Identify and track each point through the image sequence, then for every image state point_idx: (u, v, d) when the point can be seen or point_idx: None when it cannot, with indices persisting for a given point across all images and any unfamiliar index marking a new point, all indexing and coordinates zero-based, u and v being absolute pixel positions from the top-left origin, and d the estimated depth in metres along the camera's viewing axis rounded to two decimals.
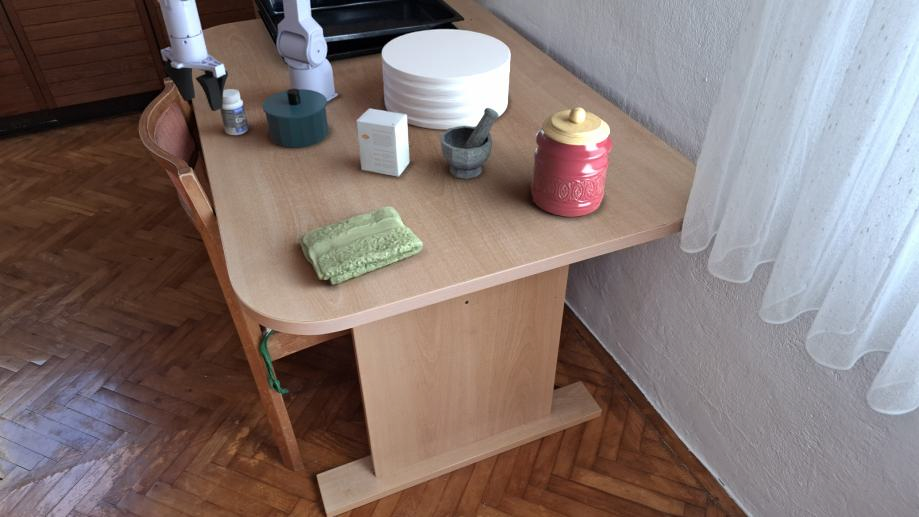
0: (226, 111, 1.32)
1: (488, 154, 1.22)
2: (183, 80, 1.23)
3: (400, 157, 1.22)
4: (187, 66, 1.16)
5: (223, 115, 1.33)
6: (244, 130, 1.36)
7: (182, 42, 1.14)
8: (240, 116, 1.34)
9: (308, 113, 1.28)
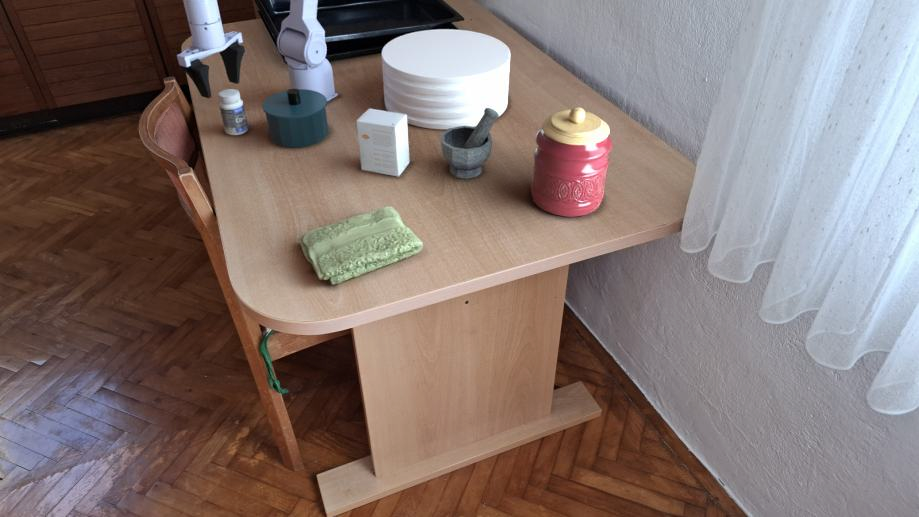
0: (226, 111, 1.32)
1: (488, 154, 1.22)
2: (228, 63, 1.29)
3: (400, 157, 1.22)
4: None
5: (223, 115, 1.33)
6: (244, 130, 1.36)
7: (189, 24, 1.21)
8: (240, 116, 1.34)
9: (308, 113, 1.28)
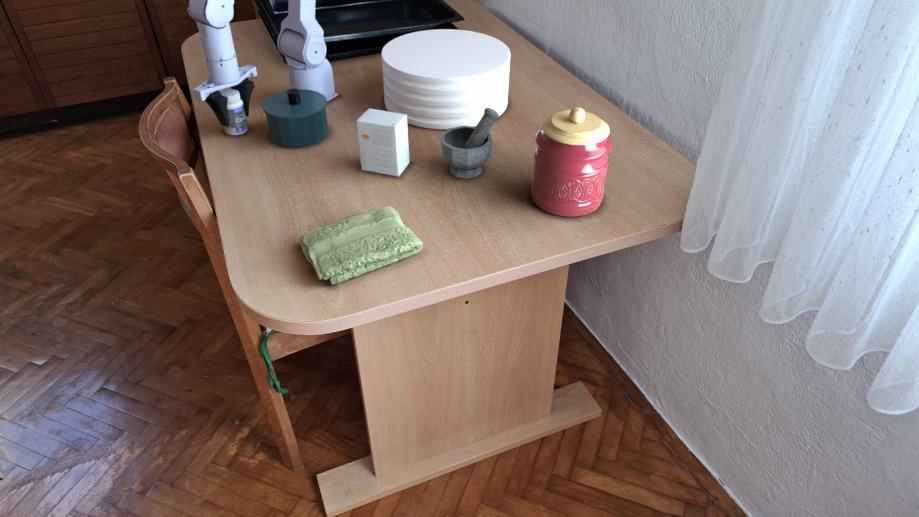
0: None
1: (488, 154, 1.22)
2: None
3: (400, 157, 1.22)
4: None
5: None
6: (244, 130, 1.36)
7: (206, 60, 1.28)
8: (240, 116, 1.34)
9: (308, 113, 1.28)
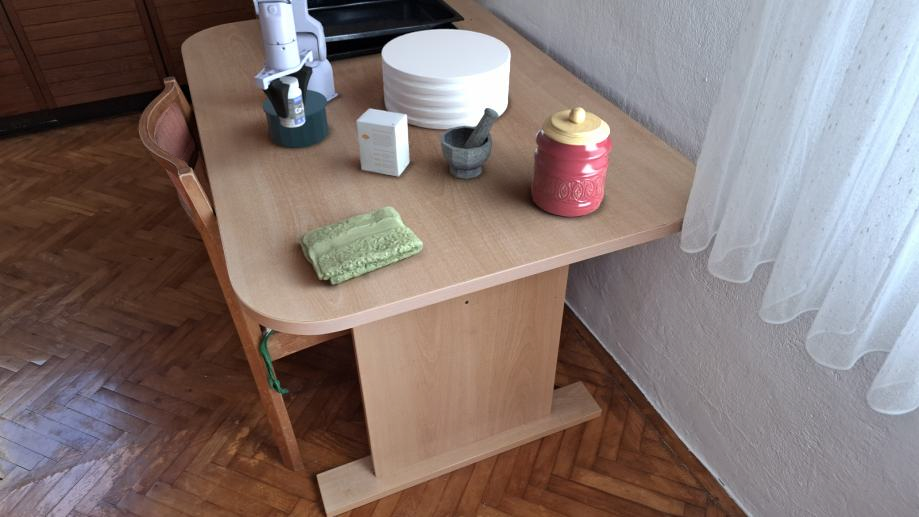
0: None
1: (488, 154, 1.22)
2: None
3: (400, 157, 1.22)
4: None
5: None
6: (303, 121, 1.23)
7: (264, 44, 1.15)
8: (300, 106, 1.21)
9: (308, 113, 1.28)
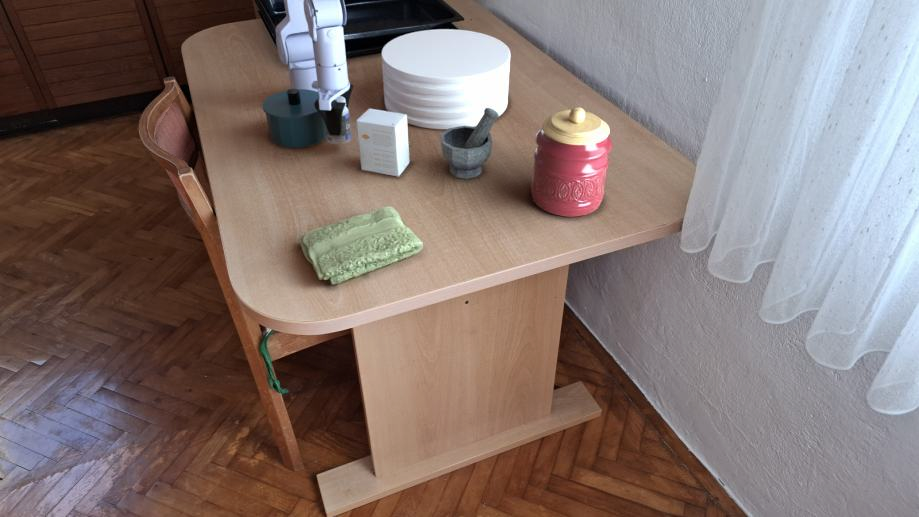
0: None
1: (488, 154, 1.22)
2: None
3: (400, 157, 1.22)
4: (317, 89, 1.23)
5: None
6: (350, 136, 1.30)
7: (316, 68, 1.20)
8: (349, 122, 1.28)
9: (308, 113, 1.28)
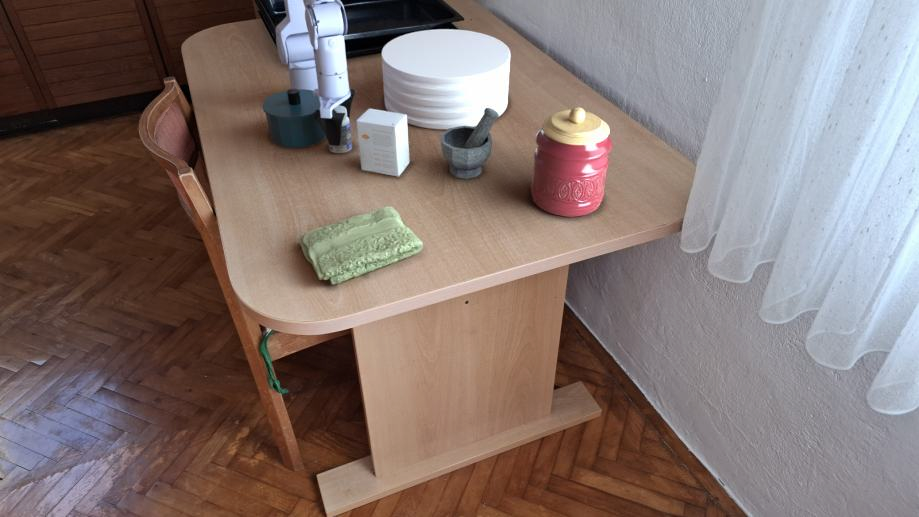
0: None
1: (488, 154, 1.22)
2: None
3: (400, 157, 1.22)
4: None
5: None
6: (351, 145, 1.32)
7: (317, 76, 1.21)
8: (350, 131, 1.29)
9: (308, 113, 1.28)
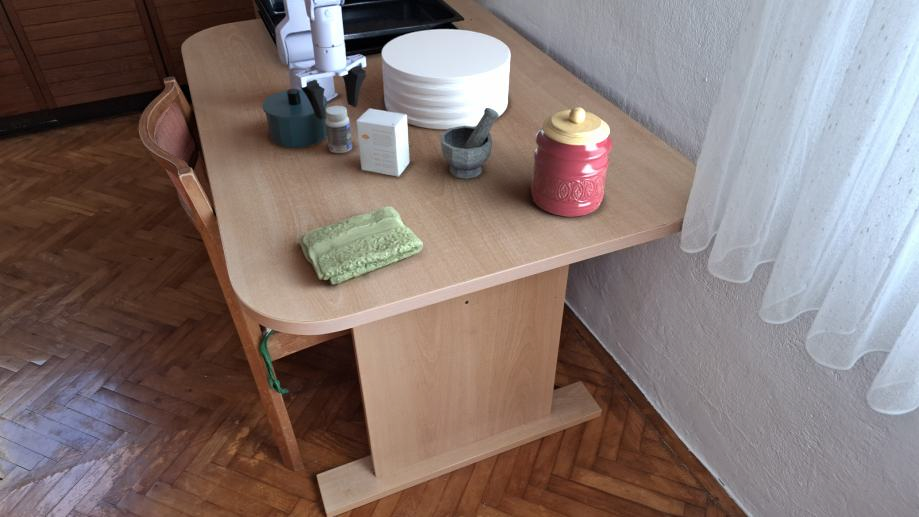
0: (339, 129, 1.27)
1: (488, 154, 1.22)
2: None
3: (400, 157, 1.22)
4: (348, 69, 1.21)
5: (335, 134, 1.28)
6: (351, 145, 1.32)
7: (343, 46, 1.19)
8: (350, 131, 1.29)
9: (308, 113, 1.28)
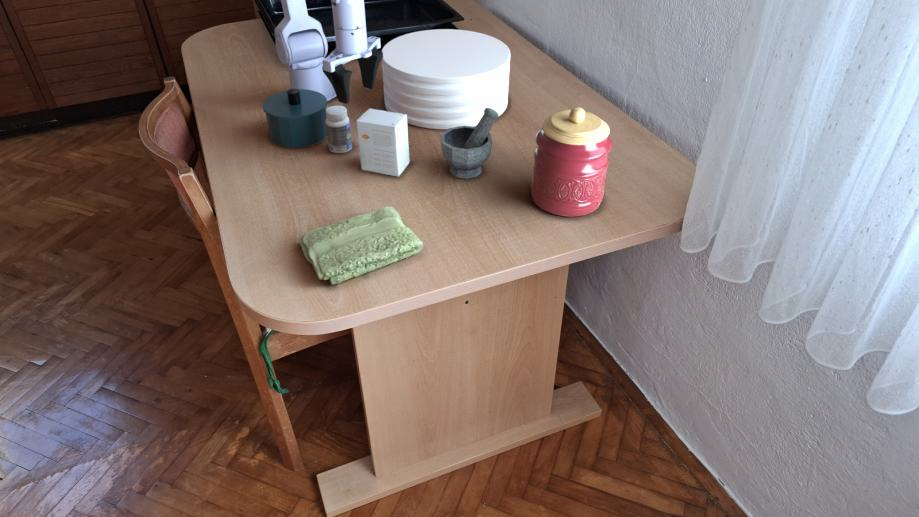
0: (339, 129, 1.27)
1: (488, 154, 1.22)
2: None
3: (400, 157, 1.22)
4: (369, 50, 1.22)
5: (335, 134, 1.28)
6: (351, 145, 1.32)
7: (365, 28, 1.20)
8: (350, 131, 1.29)
9: (308, 113, 1.28)
